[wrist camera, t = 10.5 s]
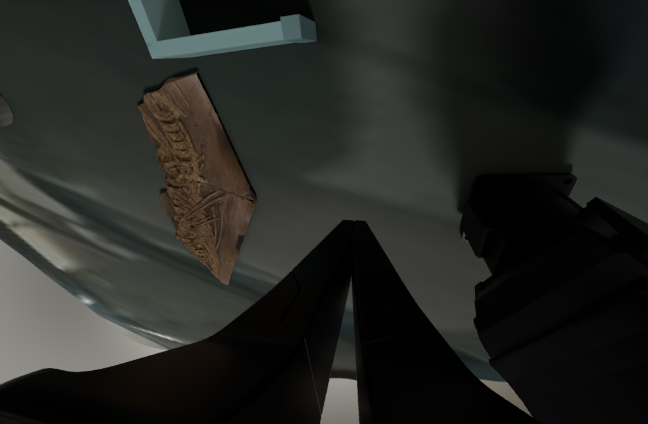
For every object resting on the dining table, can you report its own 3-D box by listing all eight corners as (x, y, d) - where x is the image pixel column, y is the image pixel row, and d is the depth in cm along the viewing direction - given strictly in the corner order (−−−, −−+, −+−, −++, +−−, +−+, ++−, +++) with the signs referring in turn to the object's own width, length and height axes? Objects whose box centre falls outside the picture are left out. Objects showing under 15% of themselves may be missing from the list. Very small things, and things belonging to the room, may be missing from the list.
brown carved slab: (129, 53, 19) (117, 53, 18) (263, 85, 18) (257, 87, 17) (181, 268, 34) (176, 274, 33) (256, 289, 33) (253, 295, 32)
